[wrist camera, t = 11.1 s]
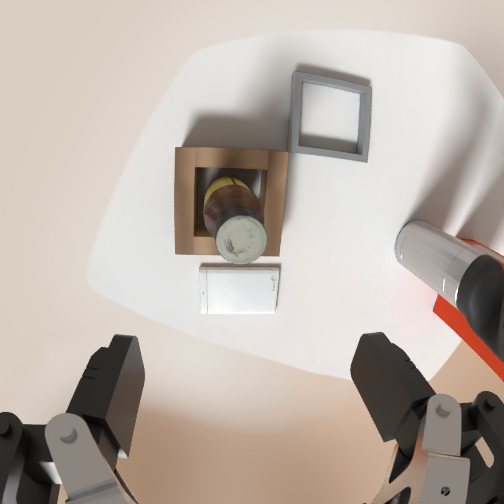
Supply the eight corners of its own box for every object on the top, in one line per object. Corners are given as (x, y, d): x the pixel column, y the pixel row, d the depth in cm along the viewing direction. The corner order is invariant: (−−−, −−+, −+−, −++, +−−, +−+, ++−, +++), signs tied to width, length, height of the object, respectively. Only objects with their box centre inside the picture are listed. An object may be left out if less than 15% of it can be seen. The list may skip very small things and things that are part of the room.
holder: (280, 151, 38) (288, 152, 33) (272, 244, 43) (279, 256, 38) (181, 147, 36) (175, 147, 32) (180, 242, 41) (175, 254, 37)
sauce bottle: (202, 214, 40) (187, 272, 22) (209, 171, 38) (197, 194, 20) (247, 220, 41) (268, 283, 23) (254, 179, 39) (285, 207, 21)
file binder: (474, 240, 48) (578, 305, 18) (453, 307, 54) (535, 386, 24) (454, 238, 47) (569, 311, 17) (432, 310, 53) (519, 400, 23)
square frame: (365, 89, 35) (371, 87, 33) (361, 161, 40) (367, 162, 38) (292, 74, 34) (295, 71, 32) (287, 152, 38) (290, 152, 36)
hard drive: (280, 270, 43) (199, 269, 42) (275, 314, 46) (200, 315, 45) (278, 265, 45) (199, 265, 43) (273, 309, 48) (200, 309, 46)
